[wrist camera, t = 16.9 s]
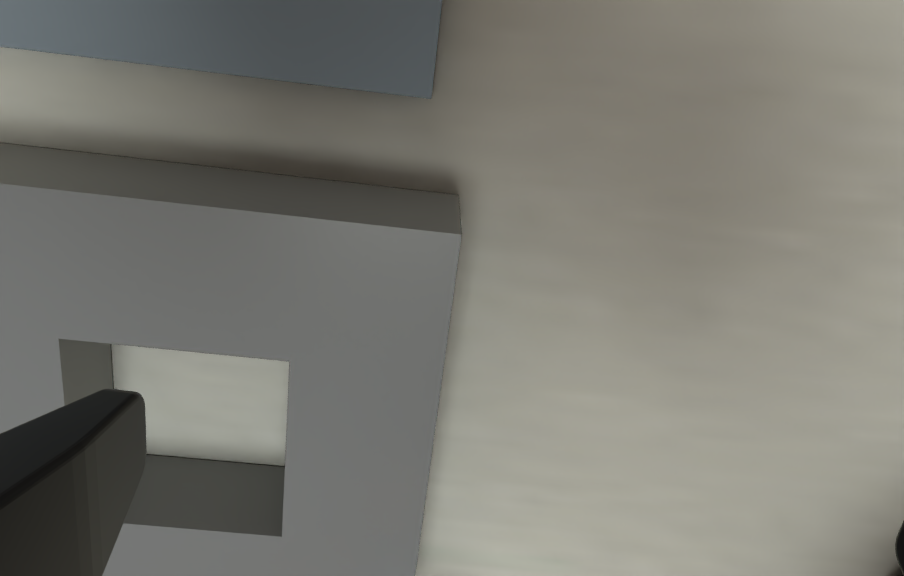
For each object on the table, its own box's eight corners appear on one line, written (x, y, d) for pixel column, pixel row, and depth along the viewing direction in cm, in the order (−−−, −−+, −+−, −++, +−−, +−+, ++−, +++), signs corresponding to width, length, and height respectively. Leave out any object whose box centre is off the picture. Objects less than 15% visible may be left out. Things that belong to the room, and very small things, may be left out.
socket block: (485, 198, 21) (513, 356, 13) (419, 642, 27) (412, 925, 19) (-54, 136, 20) (-375, 266, 12) (14, 611, 26) (-165, 895, 18)
